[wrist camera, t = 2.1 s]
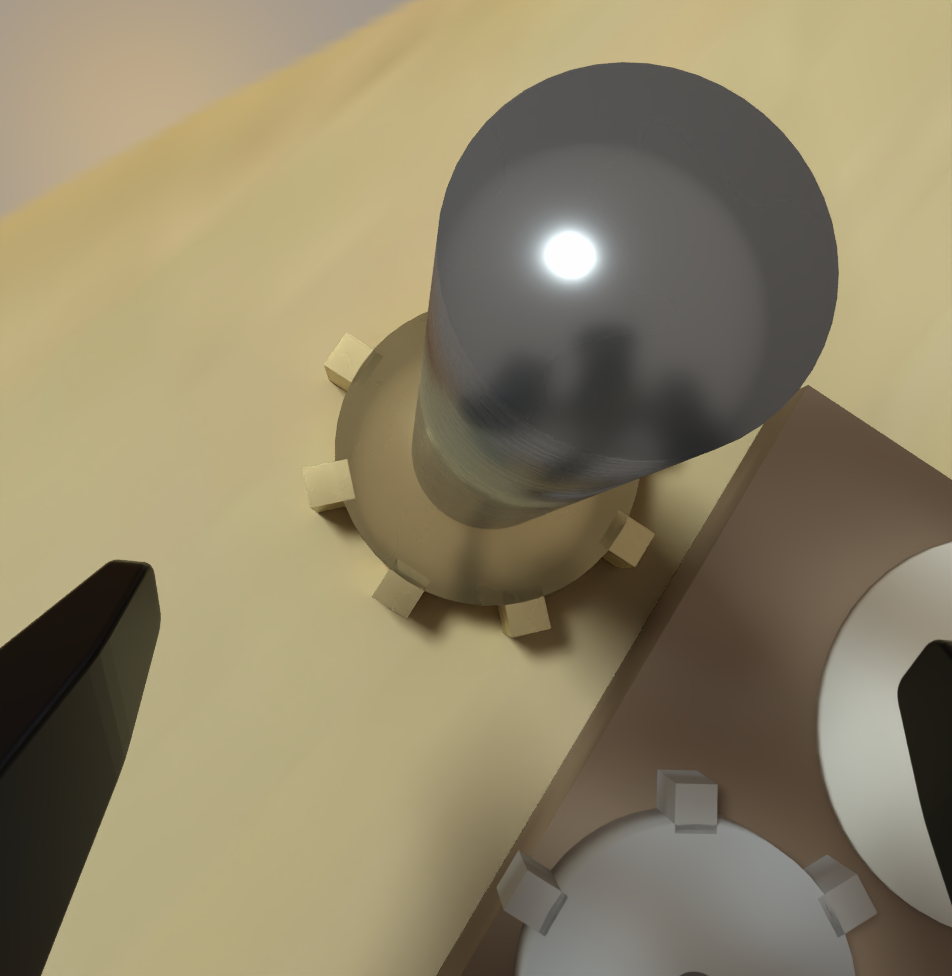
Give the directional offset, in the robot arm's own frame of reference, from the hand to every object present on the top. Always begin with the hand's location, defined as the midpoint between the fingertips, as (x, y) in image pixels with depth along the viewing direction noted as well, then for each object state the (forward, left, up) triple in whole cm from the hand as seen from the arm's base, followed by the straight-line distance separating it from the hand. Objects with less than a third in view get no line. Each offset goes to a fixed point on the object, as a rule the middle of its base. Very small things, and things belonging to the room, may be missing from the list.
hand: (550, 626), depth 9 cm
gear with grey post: (+3, +2, -10) cm, 11 cm away
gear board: (0, -12, -10) cm, 16 cm away
